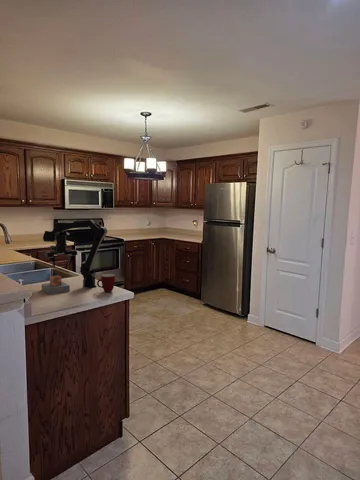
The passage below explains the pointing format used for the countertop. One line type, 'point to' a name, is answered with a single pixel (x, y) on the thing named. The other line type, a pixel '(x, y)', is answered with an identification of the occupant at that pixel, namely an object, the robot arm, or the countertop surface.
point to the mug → (107, 282)
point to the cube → (55, 280)
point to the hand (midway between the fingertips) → (61, 266)
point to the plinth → (55, 288)
